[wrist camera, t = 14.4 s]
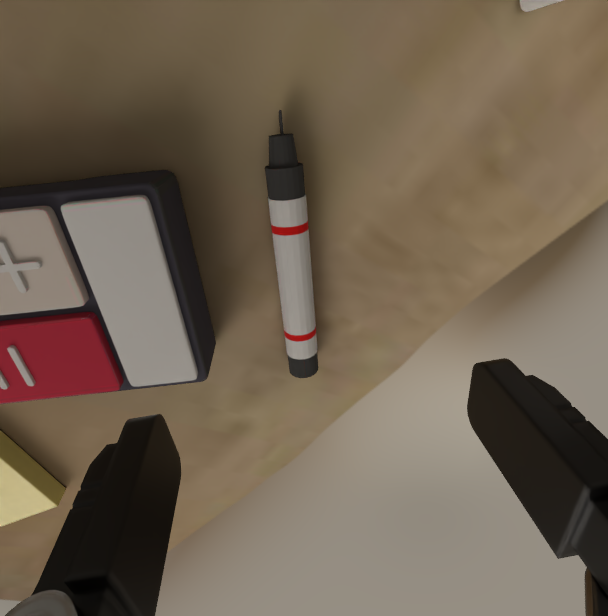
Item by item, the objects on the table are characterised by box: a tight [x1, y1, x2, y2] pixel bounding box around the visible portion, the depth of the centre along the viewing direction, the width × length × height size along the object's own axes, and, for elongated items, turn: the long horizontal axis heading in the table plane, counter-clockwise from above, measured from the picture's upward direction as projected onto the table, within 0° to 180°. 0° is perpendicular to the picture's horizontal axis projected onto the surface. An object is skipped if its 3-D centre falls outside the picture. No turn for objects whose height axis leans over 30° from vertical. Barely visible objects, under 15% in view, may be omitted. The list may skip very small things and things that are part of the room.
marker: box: [265, 110, 318, 378], centre depth 22 cm, size 15×2×2 cm, turn 4°
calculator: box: [0, 170, 216, 404], centre depth 20 cm, size 11×4×15 cm
